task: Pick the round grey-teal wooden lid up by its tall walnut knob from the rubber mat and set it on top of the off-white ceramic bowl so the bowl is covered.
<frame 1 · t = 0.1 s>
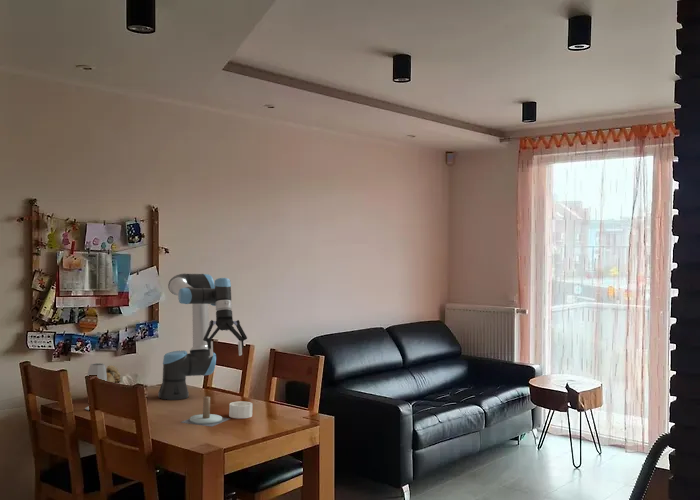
hand: (226, 355, 302), 28 cm above the table, tool tilted 20°, fingers open, 13 cm apart
bowl: (240, 416, 302), on the table
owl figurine: (107, 399, 329), on the table
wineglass: (95, 409, 307), on the table
mat: (205, 421, 291), on the table
lid: (206, 420, 291), resting on mat
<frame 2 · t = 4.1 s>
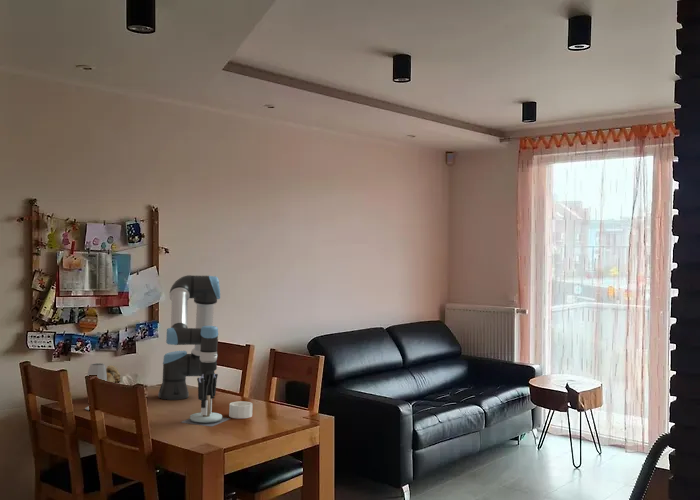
hand: (206, 413, 292), 3 cm above the table, tool pointing down, fingers closed on lid, 3 cm apart
lid: (206, 418, 292), point 1 cm above the table, touching gripper
everything else where it was.
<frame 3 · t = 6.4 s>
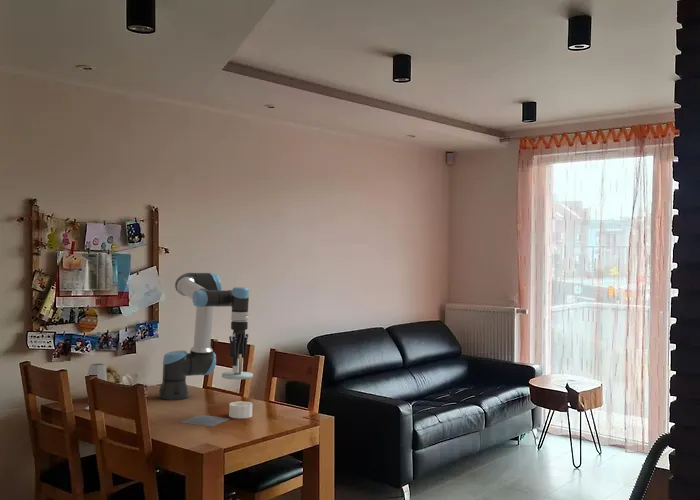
hand: (237, 372, 301), 21 cm above the table, tool pointing down, fingers closed on lid, 3 cm apart
lid: (237, 376, 301), point 18 cm above the table, touching gripper
everything else where it was.
when the fingers open (10 cm above the table, at t = 9.3 s): lid drops 2 cm, resting on bowl.
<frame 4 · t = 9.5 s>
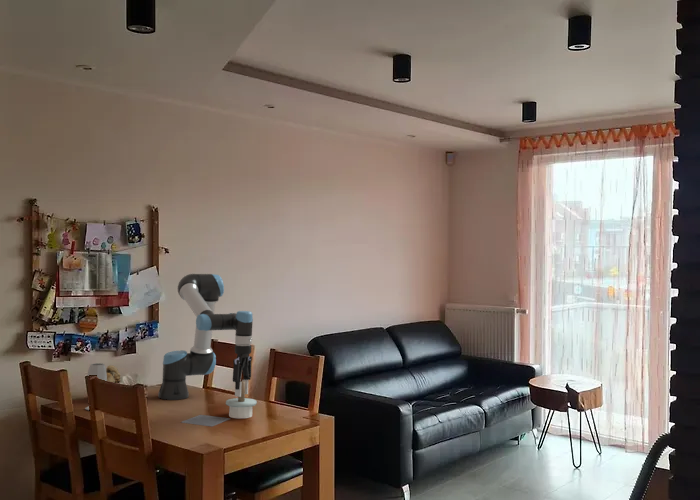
hand: (241, 395, 303), 10 cm above the table, tool pointing down, fingers open, 6 cm apart
lid: (241, 403, 303), point 6 cm above the table, touching bowl
everything else where it was.
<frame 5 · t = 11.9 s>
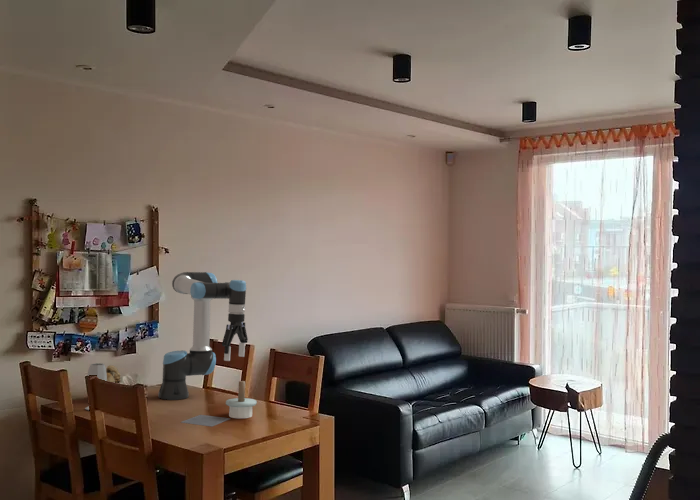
hand: (234, 358, 307), 26 cm above the table, tool pointing down, fingers open, 13 cm apart
nothing on the table moved.
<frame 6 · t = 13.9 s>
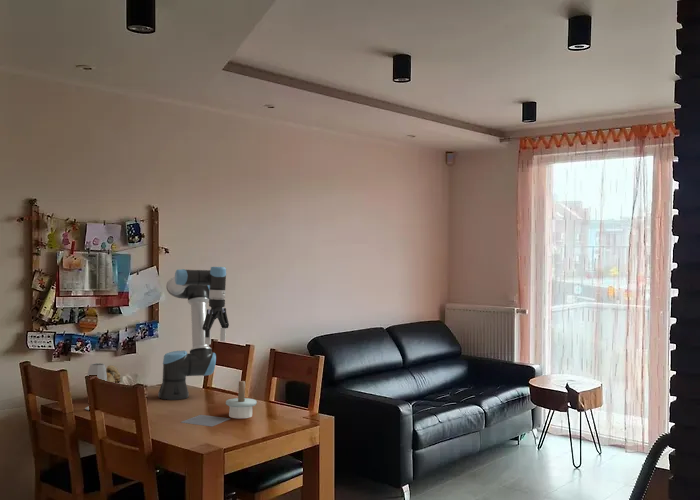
hand: (215, 342, 316), 32 cm above the table, tool pointing down, fingers open, 13 cm apart
nothing on the table moved.
at the end: lid 0.0 cm from the bowl (horizontally); lid point 5.8 cm above the table; lid tilted 0° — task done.
